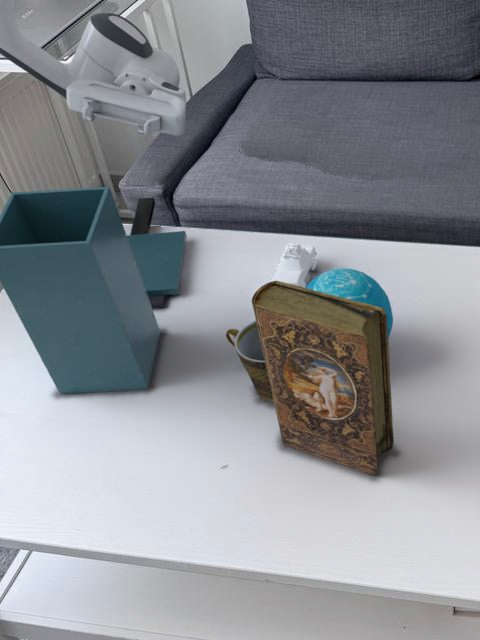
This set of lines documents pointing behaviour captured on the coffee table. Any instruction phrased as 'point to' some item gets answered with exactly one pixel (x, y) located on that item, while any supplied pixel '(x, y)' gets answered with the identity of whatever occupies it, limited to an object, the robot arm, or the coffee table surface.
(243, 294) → the coffee table surface
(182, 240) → the lid
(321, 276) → the decorative orb
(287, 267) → the toy car
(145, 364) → the bin
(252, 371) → the ceramic cup
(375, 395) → the book
